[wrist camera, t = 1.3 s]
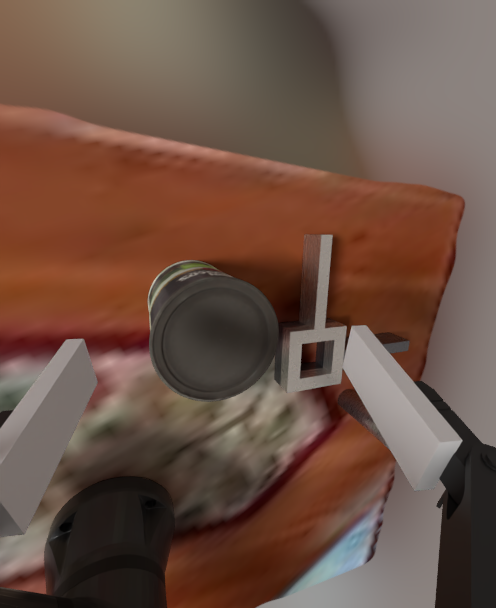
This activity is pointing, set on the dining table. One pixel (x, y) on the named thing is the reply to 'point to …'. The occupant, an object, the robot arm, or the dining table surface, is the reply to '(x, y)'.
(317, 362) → the grey flat branched piece
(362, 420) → the pin
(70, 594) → the robot arm
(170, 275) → the coffee can
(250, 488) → the dining table surface
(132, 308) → the dining table surface
